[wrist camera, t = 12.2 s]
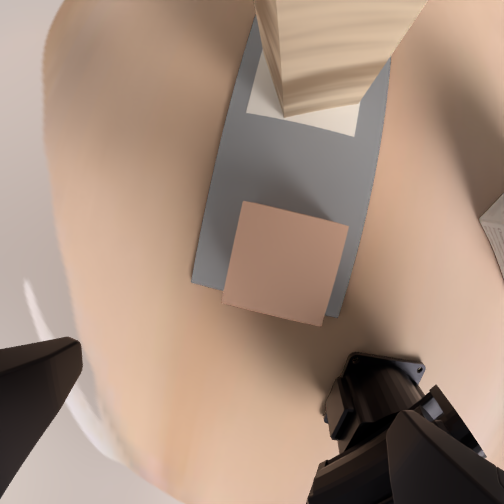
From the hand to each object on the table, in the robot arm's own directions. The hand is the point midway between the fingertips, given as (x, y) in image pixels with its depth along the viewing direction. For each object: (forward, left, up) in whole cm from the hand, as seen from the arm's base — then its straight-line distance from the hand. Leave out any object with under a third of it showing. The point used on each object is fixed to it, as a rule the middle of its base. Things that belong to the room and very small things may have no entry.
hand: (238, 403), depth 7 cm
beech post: (0, -14, -13) cm, 19 cm away
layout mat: (0, -9, -13) cm, 16 cm away
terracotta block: (0, -2, -13) cm, 13 cm away
